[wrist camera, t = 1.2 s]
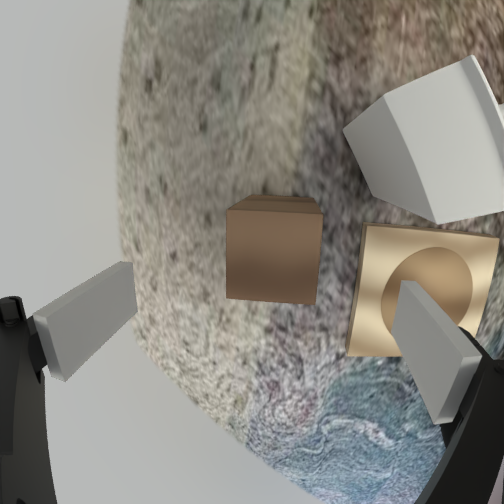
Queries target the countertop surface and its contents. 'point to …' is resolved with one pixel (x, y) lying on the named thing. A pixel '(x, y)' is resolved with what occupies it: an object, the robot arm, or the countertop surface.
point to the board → (417, 280)
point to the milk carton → (435, 145)
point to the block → (273, 249)
